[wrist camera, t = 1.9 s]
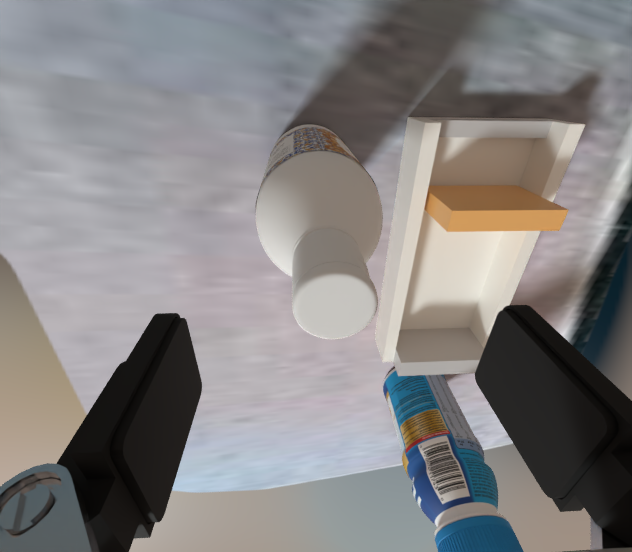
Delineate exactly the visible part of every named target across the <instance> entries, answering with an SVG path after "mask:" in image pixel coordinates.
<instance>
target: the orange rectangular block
mask: <svg viewBox="0 0 632 552" xmlns="http://www.w3.org/2000/svg"><path fill="white" fill-rule="evenodd" d="M424 210H425V211H426V212H427V213H429V214H430V215H431V216H432V217H433V218H434V219H435V220H436V221H437V222H438V223H439V224H440V225H441V226H442V227H443V228H444V229H445V230H446V231H447V232H476V231H559V230H560V228H561V226H562V224H563V221H564V219H565V217H566V215H567V213H568V209H566V208H564V207H561V206H559V205H557V204H555V203H553V202H551V201H549V200H547V199H545V198H542V197H540V196H538V195H536V194H534V193H532V192H530V191H528V190H526V189H524V188H521V187H519V186H517V185H480V186H429V187H428V192H427V197H426V202H425V207H424Z"/></svg>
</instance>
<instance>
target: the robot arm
mask: <svg viewBox="0 0 632 552" xmlns="http://www.w3.org/2000/svg"><path fill="white" fill-rule="evenodd" d="M475 379H476V382H477V385H478V386H479V388H480V389H481V391H482V393H483V394H484V396H485V398H486V399H487V401H488V402H489V404H490V406H491V407H492V409H493V411H494V412H495V414H496V415H497V417H498V419H499V420H500V422H501V424H502V425H503V427H504V428H505V430H506V432H507V433H508V435H509V437H510V438H511V440H512V441H513V443H514V445H515V446H516V448H517V450H518V451H519V453H520V454H521V456H522V458H523V459H524V461H525V463H526V464H527V466H528V468H529V469H530V471H531V472H532V474H533V476H534V477H535V479H536V481H537V482H538V484H539V485H540V487H541V489H542V490H543V491H544V493H545V494H546V495H547V496H548V497H550V498H552V499H553V501H554V502H555V504H556V505H557V507H558V509H559V510H560V512H564V511H580V510H582V509H583V508H585V509H586V511H587V512H588V513H589V515H590V516H591V550H582V551H581V550H580V551H564V552H632V401H631V400H630V399H629V398H628V397H627V396H626V395H625V394H624V393H622V392H621V391H620V390H619V389H618V388H617V387H616V386H615V385H614V384H613V383H612V382H611V381H610V380H608V379H607V378H606V377H605V376H604V375H603V374H602V373H601V372H600V371H599V370H598V369H596V367H595V366H593V364H591V363H590V362H589V361H588V360H587V359H586V358H585V357H584V356H583V355H582V354H581V353H580V352H579V351H577V350H576V349H575V348H574V347H573V346H572V345H571V344H570V343H569V342H568V341H567V340H566V339H565V338H564V337H562V336H561V335H560V334H559V333H558V332H557V331H556V330H555V329H554V328H553V327H552V326H551V325H550V324H549V323H547V322H546V321H545V320H544V319H543V318H542V317H541V316H540V315H539V314H538V313H537V312H536V311H535V310H533V309H532V308H531V307H530V306H527V305H508V306H505V307H504V308H503V310H502V311H500V312H499V313H498V314H497V317H496V319H495V322H494V325H493V327H492V330H491V332H490V335H489V338H488V340H487V343H486V346H485V348H484V351H483V353H482V356H481V359H480V361H479V364H478V366H477V369H476V372H475ZM201 391H202V382H201V378H200V374H199V369H198V365H197V361H196V357H195V353H194V349H193V345H192V341H191V337H190V333H189V329H188V325H187V321H186V319H185V318H180V316H179V314H177V313H166V314H155V315H154V317H153V318H152V320H151V321H150V323H149V325H148V326H147V328H146V329H145V331H144V333H143V334H142V336H141V338H140V339H139V341H138V342H137V344H136V346H135V347H134V349H133V351H132V352H131V354H130V356H129V357H128V359H127V360H126V361H124V362H123V363H121V364H120V365H119V366H118V367H117V369H116V370H115V372H114V373H113V375H112V377H111V378H110V380H109V381H108V383H107V385H106V386H105V388H104V389H103V391H102V392H101V394H100V396H99V397H98V399H97V400H96V402H95V404H94V405H93V407H92V408H91V410H90V411H89V413H88V415H87V416H86V418H85V419H84V421H83V423H82V424H81V426H80V427H79V429H78V430H77V432H76V434H75V435H74V437H73V438H72V440H71V442H70V443H69V445H68V446H67V448H66V450H65V451H64V453H63V454H62V456H61V457H60V459H59V461H58V462H57V464H43V465H40V466H35V467H32V468H30V469H28V470H26V471H24V472H21V473H19V474H18V475H16V476H15V477H13V478H12V479H10V480H9V481H7V482H6V483H4V484H3V485H2V486H1V487H0V552H129V549H130V547H131V544H132V541H133V539H134V538H148V537H150V536H151V533H152V530H153V527H154V524H155V522H160V521H161V520H162V518H163V516H164V513H165V510H166V507H167V504H168V500H169V497H170V493H171V491H172V487H173V484H174V481H175V477H176V474H177V471H178V468H179V464H180V461H181V458H182V454H183V451H184V448H185V445H186V441H187V438H188V435H189V432H190V428H191V425H192V422H193V418H194V415H195V412H196V409H197V405H198V402H199V399H200V395H201Z"/></svg>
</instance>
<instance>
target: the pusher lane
mask: <svg viewBox="0 0 632 552" xmlns="http://www.w3.org/2000/svg"><path fill="white" fill-rule="evenodd" d="M584 126H585V124H580V123H573V122H567V121H561V120H554V119H541V118H451V117H408V119H407V125H406V132H405V139H404V145H403V152H402V158H401V165H400V172H399V178H398V185H397V192H396V198H395V205H394V212H393V218H392V225H391V232H390V238H389V245H388V252H387V258H386V265H385V272H384V278H383V285H382V292H381V298H380V305H379V311H378V318H377V325H376V331H375V340H376V343H377V346H378V350H379V353H380V356H381V359H382V362H393V363H394V366H395V368H396V371H397V374H398V376H416V375H442V374H467V373H475V372H476V369H477V366H478V364H479V361H480V359H481V356H482V353H483V351H484V348H485V346H486V343H487V340H488V338H489V335H490V332H491V330H492V327H493V325H494V322H495V319H496V317H497V314H498V313H499V312H500V311H502V310H503V308H504V307H505V306H508V305H510V303H511V301H512V298H513V296H514V293H515V291H516V289H517V286H518V284H519V281H520V279H521V277H522V274H523V272H524V270H525V267H526V265H527V262H528V260H529V258H530V255H531V253H532V250H533V248H534V246H535V243H536V241H537V238H538V236H539V234H540V231H476V232H447V231H446V230H445V229H444V228H443V227H442V226H441V225H440V224H439V223H438V222H437V221H436V220H435V219H434V218H433V217H432V216H431V215H430V214H429V213H427V212H426V211H425V210H424V207H425V202H426V197H427V192H428V187H429V186H480V185H517V186H519V187H521V188H524V189H526V190H528V191H530V192H532V193H534V194H536V195H538V196H540V197H542V198H545V199H547V200H549V201H551V202H553V200H554V198H555V196H556V193H557V191H558V188H559V186H560V184H561V181H562V179H563V176H564V174H565V172H566V169H567V167H568V165H569V162H570V160H571V157H572V155H573V153H574V150H575V148H576V145H577V143H578V141H579V138H580V136H581V134H582V131H583V129H584Z"/></svg>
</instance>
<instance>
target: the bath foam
mask: <svg viewBox="0 0 632 552" xmlns="http://www.w3.org/2000/svg"><path fill="white" fill-rule="evenodd" d="M255 213H256V225H257V231H258V235H259V238H260V241H261V243H262V246H263V248H264V250H265V252H266V253H267V255H268V256H269V258H270V259H271V260H272V261H273V263H274V264H275V265H276V266H277V267H278V268H279V269H281V270H282V271H283V272H284V273H286V274H287V275H289V276H291V277H292V309H293V314H294V317H295V319H296V321H297V322H298V324H299V325H300V326H301V327H302V328H303V329H304V330H305V331H306V332H308V333H309V334H311V335H314V336H316V337H319V338H324V339H341V338H346V337H349V336H352V335H354V334H356V333H358V332H359V331H361V330H362V329H364V328H365V327H366V326H367V325H368V324H369V323H370V322H371V320H372V319H373V317H374V315H375V313H376V310H377V305H378V297H377V292H376V289H375V286H374V284H373V282H372V281H371V279H370V277H369V273H368V269H367V266H366V262H367V261H368V260H369V259H370V257H371V256H372V254H373V252H374V251H375V249H376V247H377V244H378V242H379V238H380V235H381V230H382V219H383V215H382V205H381V201H380V197H379V194H378V190H377V188H376V185H375V183H374V181H373V180H372V178H371V176H370V175H369V174H368V172H367V171H366V170H365V169H364V167H363V166H362V165H361V164H360V162H359V161H358V160H357V159H356V157H355V156H354V155H353V154H352V152H351V151H350V150H349V149H348V147H347V146H346V145H345V144H344V142H343V141H342V140H341V139H340V138H339V137H338V136H337V135H336V134H335V133H334V132H332V131H331V130H329V129H327V128H325V127H322V126H319V125H312V124H308V125H301V126H297V127H295V128H293V129H291V130H289V131H288V132H286V133H285V134H284V135H282V136H281V137H280V138H279V139H278V141H277V142H276V144H275V145H274V147H273V149H272V151H271V154H270V157H269V160H268V163H267V167H266V170H265V173H264V177H263V180H262V183H261V187H260V190H259V193H258V197H257V201H256V211H255Z"/></svg>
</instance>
